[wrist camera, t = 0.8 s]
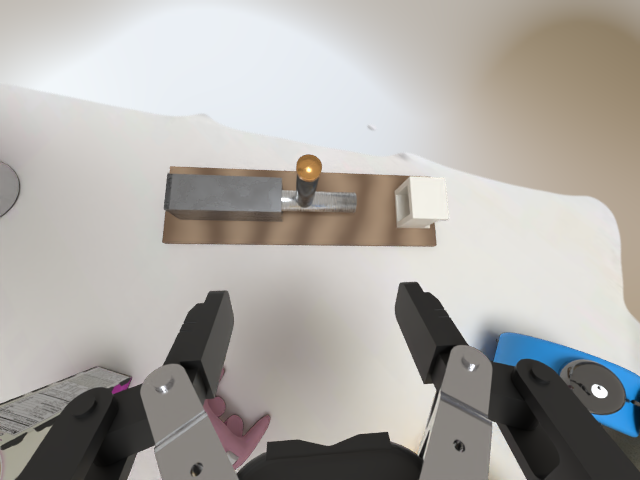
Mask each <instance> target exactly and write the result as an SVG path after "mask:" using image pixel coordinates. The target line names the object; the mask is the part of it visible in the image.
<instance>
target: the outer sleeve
mask: <svg viewBox="0 0 640 480" xmlns="http://www.w3.org/2000/svg"><path fill="white" fill-rule="evenodd" d="M282 190H283V185H282V178H276V177H249V176H222V175H195V174H167V184H166V193H165V202H164V210H166V211H167V212H169V213H170V214H172V215H174V216H175V217H177V218H178V219H180V220H222V221H272V222H282V217H283V211H282V209H281V206H282Z"/></svg>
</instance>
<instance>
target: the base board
mask: <svg viewBox="0 0 640 480" xmlns="http://www.w3.org/2000/svg"><path fill="white" fill-rule="evenodd" d="M170 174H195V175H222V176H249V177H276V178H282V185H283V190H293V191H296V178H297V172H296V171H272V170H247V169H222V168H197V167H171V166H170ZM409 177H410V176H398V175H373V174H348V173H322V172H321V174H320V176H319V180H318V184H317V188H316V191H324V192H355V193H356V197H357V205H356V210H355V212H354V213H345V212H304V211H283V217H282V222H272V221H222V220H180V219H178V218H177V217H175V216H174V215H172V214H170V213H169V212H167V211H166V212H165V221H164V231H163V240H162V242H163V243H165V244H248V245H340V246H431V247H433V246H436V235H435V224H434V223H433V224H430V228H397V221H396V205H395V190H396V189H397V188H398V187H399V186H400V185H401V184H403V183H404V182H405V181H406V180H407V179H408V178H409ZM412 177H423V176H412Z"/></svg>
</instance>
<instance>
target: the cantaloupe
mask: <svg viewBox="0 0 640 480" xmlns="http://www.w3.org/2000/svg"><path fill="white" fill-rule="evenodd" d="M602 427H603V428H604V430H605V431H606V432H607V433H608V434H609V436H610V437H611V438H612V439H613V440H614V442H615V443H616V444H617V445H618V446H619V447H620V449H621V450H622V451H623V452H624V453H625V455H626V456H627V457H628V458H629V459H630V461H631V462H632V463H633V464H634V465H635V467H636V468H637V469H638V470H639V471H640V431H639V435H638V436H637V437H631V436H628V435H626V434H624V433H621V432H619V431H616V430H614V429H612V428H609V427H607V426H605V425H603V426H602Z"/></svg>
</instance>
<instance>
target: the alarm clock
mask: <svg viewBox="0 0 640 480" xmlns="http://www.w3.org/2000/svg"><path fill="white" fill-rule="evenodd" d="M496 341H497V342H498V346H497V349H496V353H495V357H494V361H493V362H497V363H502V364H506V365H511V366H516V364H517V363H518V361H520V360H521V359H534V360H537V361H540V362H542V363H544V364H546V365H547V366H549V367H550V368H552V369H553V370H554V371H555V372H556V373H557V374H558V375H559V376H560V377H561V378H562V379H563V380H564V382H565V383H566V384H567V385H568V386H569V388H570V389H571V390H572V391H573V392H574V394H575V395H576V396H577V397H578V398H579V400H580V401H581V402H582V403H583V404H584V406H585V407H586V408H587V409H588V410H589V412H590V413H591V414H592V415H593V416H594V418H595V419H596V420H597V421H598V422H599V424H600V425H601V424H602V425H605V426H607V427H609V428H612V429H614V430H616V431H619V432H621V433H624V434H626V435H628V436H631V437H637V436H638V435H639V431H640V377H639V376H638V375H637V374H635V373H633V372H631V371H629V370H627V369H625V368H623V367H620V366H618V365H616V364H613V363H611V362H608V361H606V360H603V359H601V358H598V357H595V356H593V355H590V354H587V353H584V352H581V351H578V350H575V349H572V348H569V347H566V346H563V345H560V344H556V343H553V342H550V341H546V340H543V339H539V338H535V337H531V336H527V335H522V334H517V333H508V332H507V333H502V334H501V335H500V338H499V340H497V339H496Z"/></svg>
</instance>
